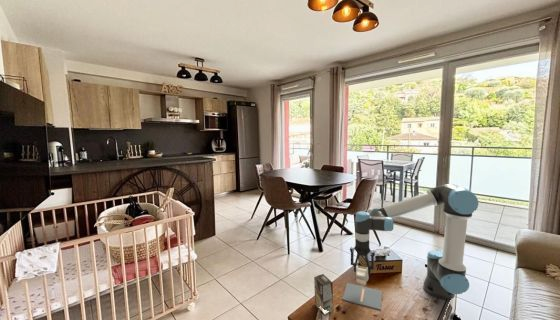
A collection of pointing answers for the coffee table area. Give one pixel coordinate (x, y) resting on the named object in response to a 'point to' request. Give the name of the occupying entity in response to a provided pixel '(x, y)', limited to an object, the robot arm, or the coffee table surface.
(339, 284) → the coffee table surface
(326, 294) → the coffee box
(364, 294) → the mat
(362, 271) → the cream block
